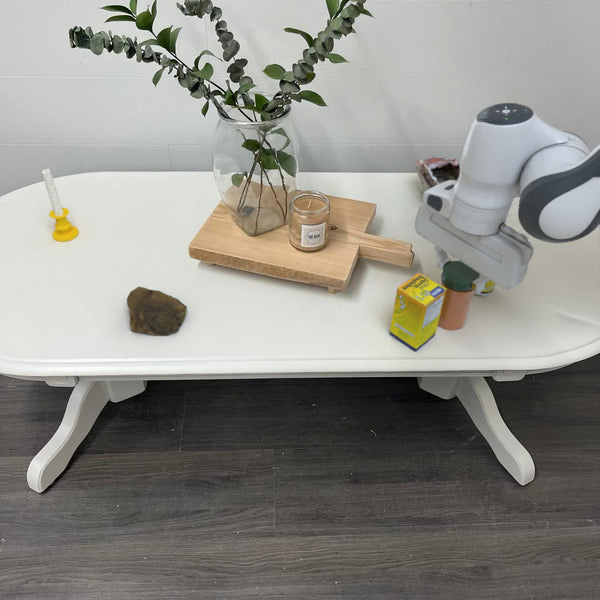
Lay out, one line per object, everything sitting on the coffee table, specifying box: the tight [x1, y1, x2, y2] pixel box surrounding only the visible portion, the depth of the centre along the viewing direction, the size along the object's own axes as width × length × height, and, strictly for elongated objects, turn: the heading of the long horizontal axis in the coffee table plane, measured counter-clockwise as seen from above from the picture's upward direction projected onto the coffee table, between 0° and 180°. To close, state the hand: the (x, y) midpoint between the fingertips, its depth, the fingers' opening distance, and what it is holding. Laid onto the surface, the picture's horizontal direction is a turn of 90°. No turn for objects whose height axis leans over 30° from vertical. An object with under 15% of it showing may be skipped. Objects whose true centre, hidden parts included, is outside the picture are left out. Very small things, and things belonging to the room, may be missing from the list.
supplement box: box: [389, 272, 446, 352], centre depth 97 cm, size 6×6×11 cm
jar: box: [437, 277, 475, 331], centre depth 100 cm, size 6×6×10 cm
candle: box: [41, 168, 80, 243], centre depth 114 cm, size 5×5×16 cm
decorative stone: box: [126, 286, 188, 337], centre depth 101 cm, size 10×9×4 cm
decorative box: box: [415, 156, 460, 195], centre depth 127 cm, size 13×20×10 cm, turn 5°
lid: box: [440, 260, 480, 291], centre depth 97 cm, size 6×6×2 cm
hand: (458, 278), depth 97 cm, fingers closed on lid, 6 cm apart
